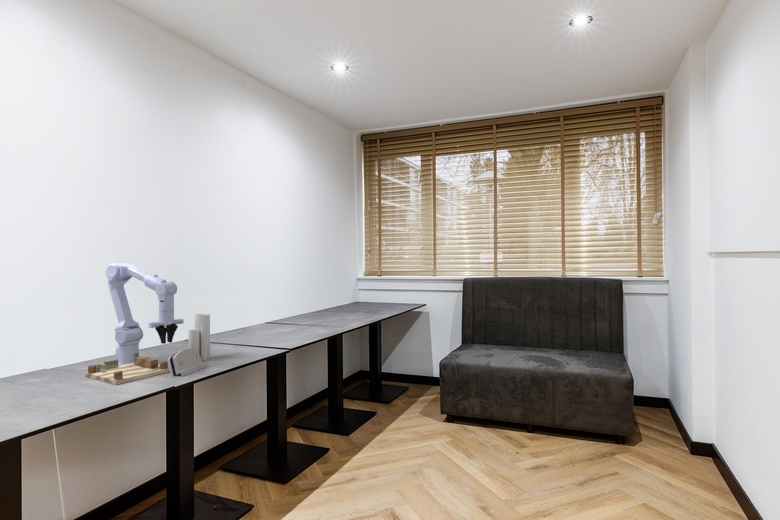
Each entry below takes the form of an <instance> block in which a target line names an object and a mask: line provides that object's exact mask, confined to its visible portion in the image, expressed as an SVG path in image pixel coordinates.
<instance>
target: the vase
mask: <svg viewBox="0 0 780 520" xmlns="http://www.w3.org/2000/svg"><path fill="white" fill-rule="evenodd" d="M193 318H194V322H193V323H194V328H193V329H189V330H188V349H190V348H192V349H197V350H198V353H199V355H200V357H201V360H205V361H208V359H210V358H211V314H210V313H196V314H194V317H193ZM207 358H208V359H207Z"/></svg>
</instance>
